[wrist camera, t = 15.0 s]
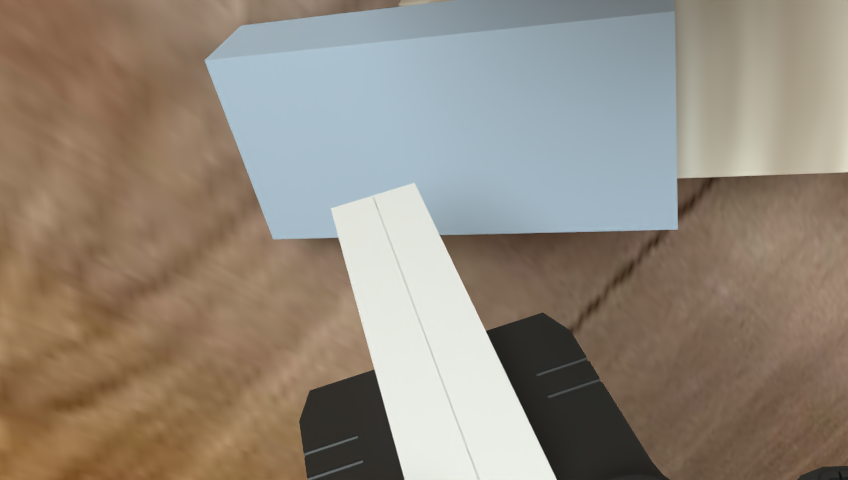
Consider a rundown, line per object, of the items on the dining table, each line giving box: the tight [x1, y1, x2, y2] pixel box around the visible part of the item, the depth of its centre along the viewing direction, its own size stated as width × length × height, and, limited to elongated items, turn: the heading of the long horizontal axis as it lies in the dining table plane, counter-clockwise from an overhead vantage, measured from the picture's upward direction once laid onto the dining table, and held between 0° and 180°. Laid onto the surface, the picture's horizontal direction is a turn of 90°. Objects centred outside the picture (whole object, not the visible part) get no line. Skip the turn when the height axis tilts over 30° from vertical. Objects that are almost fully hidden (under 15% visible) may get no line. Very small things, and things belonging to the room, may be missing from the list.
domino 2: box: [399, 0, 848, 178], centre depth 18 cm, size 2×5×10 cm
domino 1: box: [205, 0, 678, 239], centre depth 18 cm, size 2×5×10 cm
